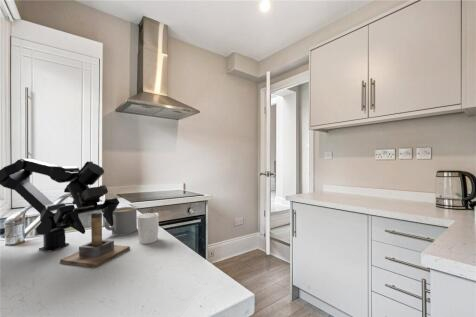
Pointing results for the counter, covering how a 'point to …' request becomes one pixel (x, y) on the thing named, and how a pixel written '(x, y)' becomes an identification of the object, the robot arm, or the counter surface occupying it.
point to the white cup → (148, 227)
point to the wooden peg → (96, 229)
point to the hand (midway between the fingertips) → (99, 229)
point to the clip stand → (95, 254)
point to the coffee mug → (123, 221)
